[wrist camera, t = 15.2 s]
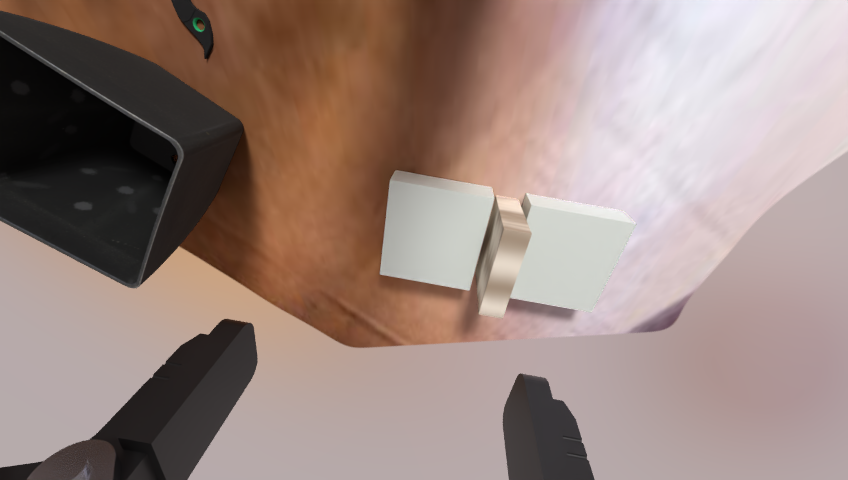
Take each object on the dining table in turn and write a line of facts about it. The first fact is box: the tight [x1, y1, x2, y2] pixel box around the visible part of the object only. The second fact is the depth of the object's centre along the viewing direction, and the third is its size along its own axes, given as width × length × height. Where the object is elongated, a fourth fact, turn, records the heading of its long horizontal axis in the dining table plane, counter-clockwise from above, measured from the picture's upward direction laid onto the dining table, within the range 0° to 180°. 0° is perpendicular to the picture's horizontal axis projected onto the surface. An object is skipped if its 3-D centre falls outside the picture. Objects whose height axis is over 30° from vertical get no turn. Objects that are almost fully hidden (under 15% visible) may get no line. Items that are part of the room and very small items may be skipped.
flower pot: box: [0, 11, 243, 288], centre depth 38 cm, size 19×19×17 cm
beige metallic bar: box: [476, 195, 532, 319], centre depth 44 cm, size 12×3×10 cm, turn 171°
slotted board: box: [380, 170, 636, 313], centre depth 46 cm, size 14×30×4 cm, turn 81°
